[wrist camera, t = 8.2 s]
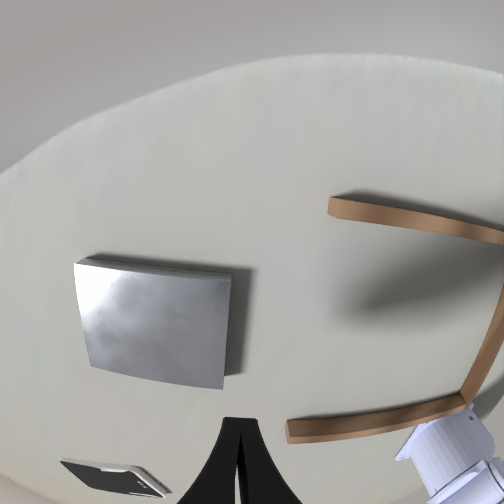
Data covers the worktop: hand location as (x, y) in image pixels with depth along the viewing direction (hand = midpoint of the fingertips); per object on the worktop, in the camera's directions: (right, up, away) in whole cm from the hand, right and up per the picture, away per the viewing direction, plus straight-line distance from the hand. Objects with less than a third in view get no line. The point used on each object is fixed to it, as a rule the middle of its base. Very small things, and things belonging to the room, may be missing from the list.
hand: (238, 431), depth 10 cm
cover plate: (-6, +3, +8) cm, 10 cm away
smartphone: (-19, -23, +15) cm, 33 cm away
